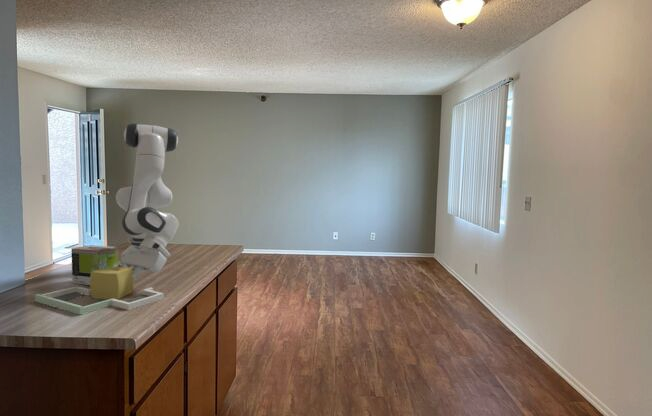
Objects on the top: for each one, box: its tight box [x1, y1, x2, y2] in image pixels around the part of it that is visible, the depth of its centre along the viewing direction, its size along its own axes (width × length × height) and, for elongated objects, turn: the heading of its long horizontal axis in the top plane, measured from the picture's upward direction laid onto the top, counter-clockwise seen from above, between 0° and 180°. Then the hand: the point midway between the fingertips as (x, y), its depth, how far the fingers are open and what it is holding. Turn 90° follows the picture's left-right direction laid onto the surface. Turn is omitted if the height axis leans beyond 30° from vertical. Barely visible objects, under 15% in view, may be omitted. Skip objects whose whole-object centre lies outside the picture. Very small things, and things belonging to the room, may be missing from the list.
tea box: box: [70, 244, 119, 286], centre depth 167 cm, size 15×10×15 cm
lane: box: [34, 286, 165, 315], centre depth 146 cm, size 35×28×2 cm
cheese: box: [89, 266, 134, 300], centre depth 150 cm, size 10×11×10 cm
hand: (130, 277), depth 156 cm, fingers closed
